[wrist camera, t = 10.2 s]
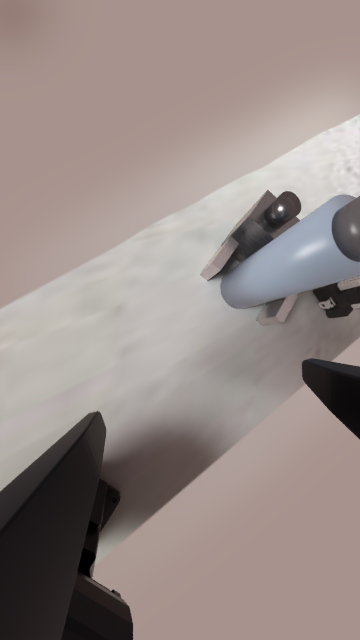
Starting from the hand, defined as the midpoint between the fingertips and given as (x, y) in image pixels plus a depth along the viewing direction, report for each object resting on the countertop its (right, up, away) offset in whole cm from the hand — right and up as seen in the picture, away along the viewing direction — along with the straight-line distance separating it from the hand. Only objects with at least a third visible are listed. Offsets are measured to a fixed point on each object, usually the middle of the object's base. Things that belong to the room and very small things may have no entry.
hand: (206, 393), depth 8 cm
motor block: (+8, +9, +17) cm, 21 cm away
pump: (+6, +7, +16) cm, 19 cm away
